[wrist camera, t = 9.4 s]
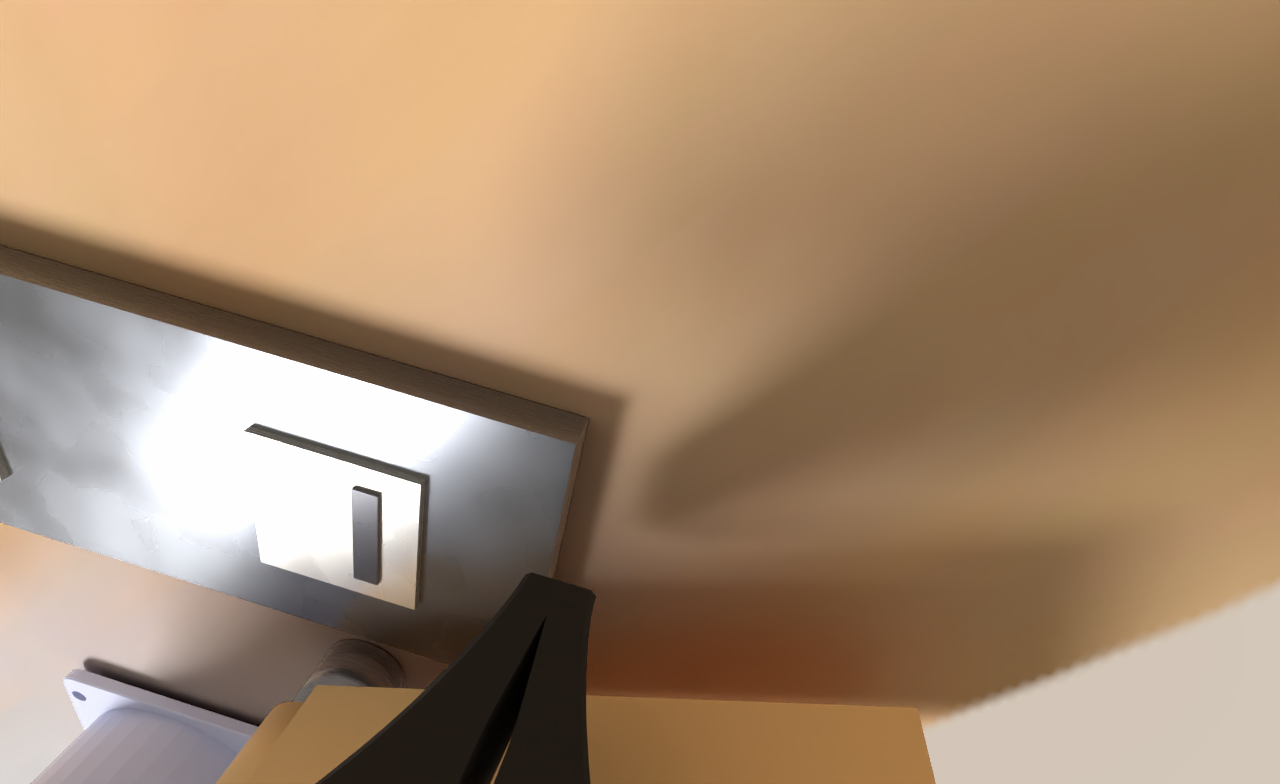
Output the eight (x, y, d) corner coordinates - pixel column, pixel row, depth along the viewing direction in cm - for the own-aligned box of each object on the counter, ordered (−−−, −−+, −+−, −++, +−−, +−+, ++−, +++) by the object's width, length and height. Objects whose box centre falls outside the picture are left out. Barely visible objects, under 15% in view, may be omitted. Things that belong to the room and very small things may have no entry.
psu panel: (537, 655, 16) (520, 699, 15) (-121, 449, 17) (-183, 475, 16) (588, 417, 12) (571, 453, 11) (-271, 165, 13) (-367, 174, 12)
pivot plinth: (403, 702, 19) (370, 759, 17) (331, 679, 19) (292, 733, 17) (405, 654, 17) (370, 712, 16) (328, 630, 18) (286, 684, 16)
